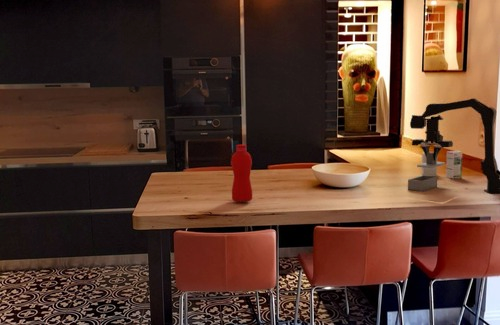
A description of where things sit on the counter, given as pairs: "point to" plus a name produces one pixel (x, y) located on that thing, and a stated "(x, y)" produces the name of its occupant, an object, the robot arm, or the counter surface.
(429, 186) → the tub
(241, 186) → the water bottle
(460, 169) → the syrup box
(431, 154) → the lid
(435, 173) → the supplement box
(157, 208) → the counter surface
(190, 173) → the counter surface
